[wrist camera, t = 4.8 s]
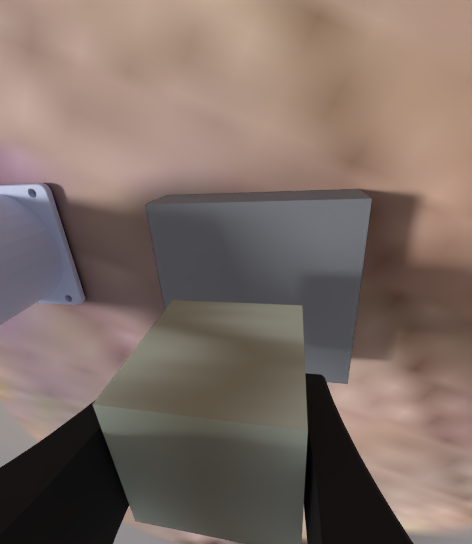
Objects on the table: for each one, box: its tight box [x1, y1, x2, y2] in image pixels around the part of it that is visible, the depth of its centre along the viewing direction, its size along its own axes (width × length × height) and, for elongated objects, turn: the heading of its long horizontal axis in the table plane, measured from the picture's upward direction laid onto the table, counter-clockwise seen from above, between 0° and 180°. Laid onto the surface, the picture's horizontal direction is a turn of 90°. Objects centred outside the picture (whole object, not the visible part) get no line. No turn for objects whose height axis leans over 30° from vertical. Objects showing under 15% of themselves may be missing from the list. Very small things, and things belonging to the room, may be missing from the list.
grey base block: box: [145, 189, 372, 384], centre depth 16 cm, size 10×10×3 cm
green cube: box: [92, 300, 308, 544], centre depth 9 cm, size 4×4×4 cm
